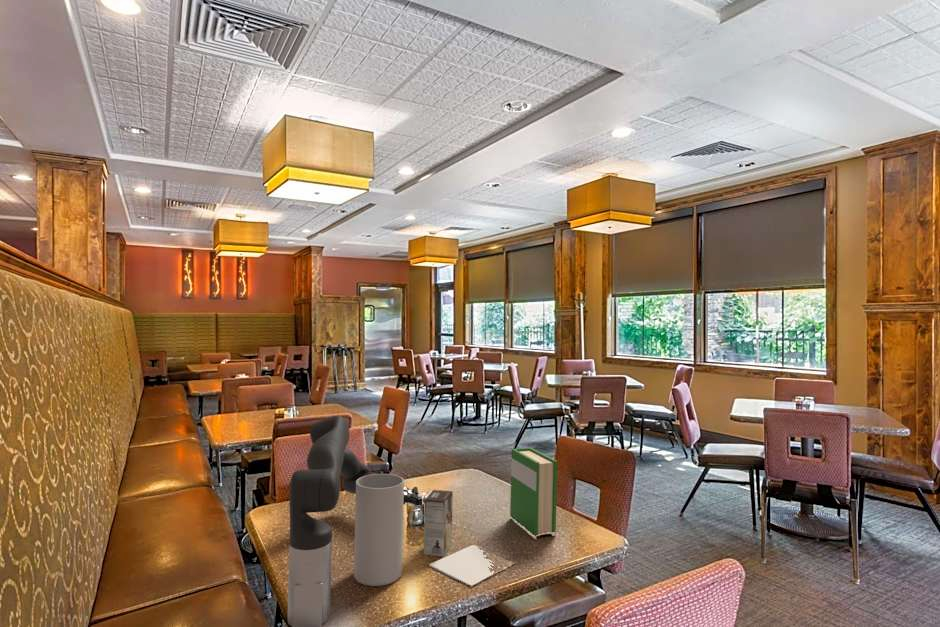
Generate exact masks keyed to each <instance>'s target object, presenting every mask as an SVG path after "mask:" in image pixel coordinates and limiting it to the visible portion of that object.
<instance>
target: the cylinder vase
mask: <svg viewBox="0 0 940 627" xmlns="http://www.w3.org/2000/svg"><path fill="white" fill-rule="evenodd" d="M404 487H405V479H404V478H403V477H402V476H399V475H396V474H391V473H376V474H372V475H367V476H363V477H361V478H359V479H357V481H356V494H355V508H354V509H355V510H354V512H355V513H354V516H355V517H354V546H353V547H354V554H353V558H354V559H353V577H354V579H355V580H356V582H358V583H359V584H362V585H364V586H368V587H382V586H386V585H390V584H392V583H394V582H396V581H397V580H398V579H399V578H400V577H401V576H402V573H403V572H402V571H403V538H404V537H403V533H404V532H403V531H404V529H403V528H404V505H403V500H404Z"/></svg>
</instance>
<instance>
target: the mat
mask: <svg viewBox="0 0 940 627" xmlns="http://www.w3.org/2000/svg"><path fill="white" fill-rule="evenodd" d="M478 547H479V548H481V546H477V545H475V544H472V545H470V546H467V547H465V548H463V549H461V550H458V551H456V552H454V553H452V554H449V555H447V556H444V557H443V558H440V559H438V560H435V561H433V562H431V563H429V565H428V566H429V567H430V568H432V569H434V570H436V571H438V572H440V573H442V574H444V575H445V576H448V577H450V578H452V579H454V580H455V581H458V580H459V581H458V582H460V581H461V582H460V583H462V582H463V583H462V584H464V583H466V584H468V585H471V586H473V585H474V584H477V583H478V582H480V581H482V580H484V579H486V578H487V577H489V576H491V575H493V573H494V571H492V572H490V570H489V568H492V567H491V566H490V565H492V566H494V565H493V564H492V563H490V562H493V561H491V560H489V559H486V558H484V557H487V556H486V555H483V552H484V551H483V550H480V549H479V548H478ZM487 554H488V553H487ZM489 561H490V562H489ZM493 563H494V562H493ZM488 567H489V568H488ZM498 568H500V567H498ZM492 569H493V568H492ZM496 573H497V572H496ZM466 584H465V585H466ZM468 585H467V586H468Z"/></svg>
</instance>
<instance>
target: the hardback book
mask: <svg viewBox="0 0 940 627" xmlns="http://www.w3.org/2000/svg"><path fill="white" fill-rule="evenodd" d="M510 461H511V464H510V465H511V466H510V467H511V468H510V469H511V470H510V471H511V472H510V510H509V513H510V514H509V516H511V517H512V518H513V519H515V520H516V521H517V522H518V523H520V524H521V525H522V526H524V527H525V528H526V529H527V530H528V531H530V532H531V533H532V534H533V535H535V536H536V535H538V534H542V533H547V532H556V531H557V494H558V493H557V490H558V489H557V488H558V460H557V459H554V458H552V457H550V456H549V455H546V454H544V453H542V452H540V451H538V450H537V449H534V448H532V447H523V448H522V447H520V448H512V449H511V460H510ZM556 533H557V532H556Z"/></svg>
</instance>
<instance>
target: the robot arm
mask: <svg viewBox="0 0 940 627" xmlns="http://www.w3.org/2000/svg"><path fill="white" fill-rule="evenodd" d="M309 436H310V440H311V443H312V445H311V447H310V449H309V452H308V454H307V458H306V466H307V468H308V469H300V470H295V471H294V472H292V473H293V474H292V475H291V478H290V481H289V490H288V494H289V495H288V498H289V546H288V547H289V550H288V554H289V555H288V586H287V588H288V590H287V591H288V592H287V623H288V625H289V626H291V627H323V624H325V623H326V622H327V621H328V620H329V619H330V617H331V586H332V584H331V583H332V549H333V548H332V546H333V530H332V529H333V528H332V526H331V525H329V523H327V522H325V521H323V520H318V519H316V518H314V517H313V516H311V515H309V514H308V513H326V512H329V511H332V510H334V509H335V507H336V506H337V504H338V501H339V497H340V494H341V492H340V491H341V486H342V488H343V490H345V491H346V492H348V493H349V494H353V495H354V494H355V495H356V481H357V479H359V478H361V477H363V476H367V475H372V474H377V473H376V472H373V471H371V469H370V467H369V466H368V465H366V464H365V463H363V462H361V461H360V460H359V459H358V457H357V456H356V454H355V453H354V452H353V451H352V450H351V449H349V448H346V447H347V446H348V443H349V440H350V427H349V424H348V422H347V420H346V419H345V418H344V417H343V416H341V415H333V416H331V417H328V418H324V419H322V420H319V421H317V422H314V423H313V424H311V425H310V428H309ZM341 476H342V477H343V478H342V481H341ZM406 504H409V505H410V504H411V505H413V506H421V505H423V497H421V496H419V490H418V487H417V486H414V487H413V488H411V489H410V488H409V487H407V486H404V500H403V506H405V505H406Z"/></svg>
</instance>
